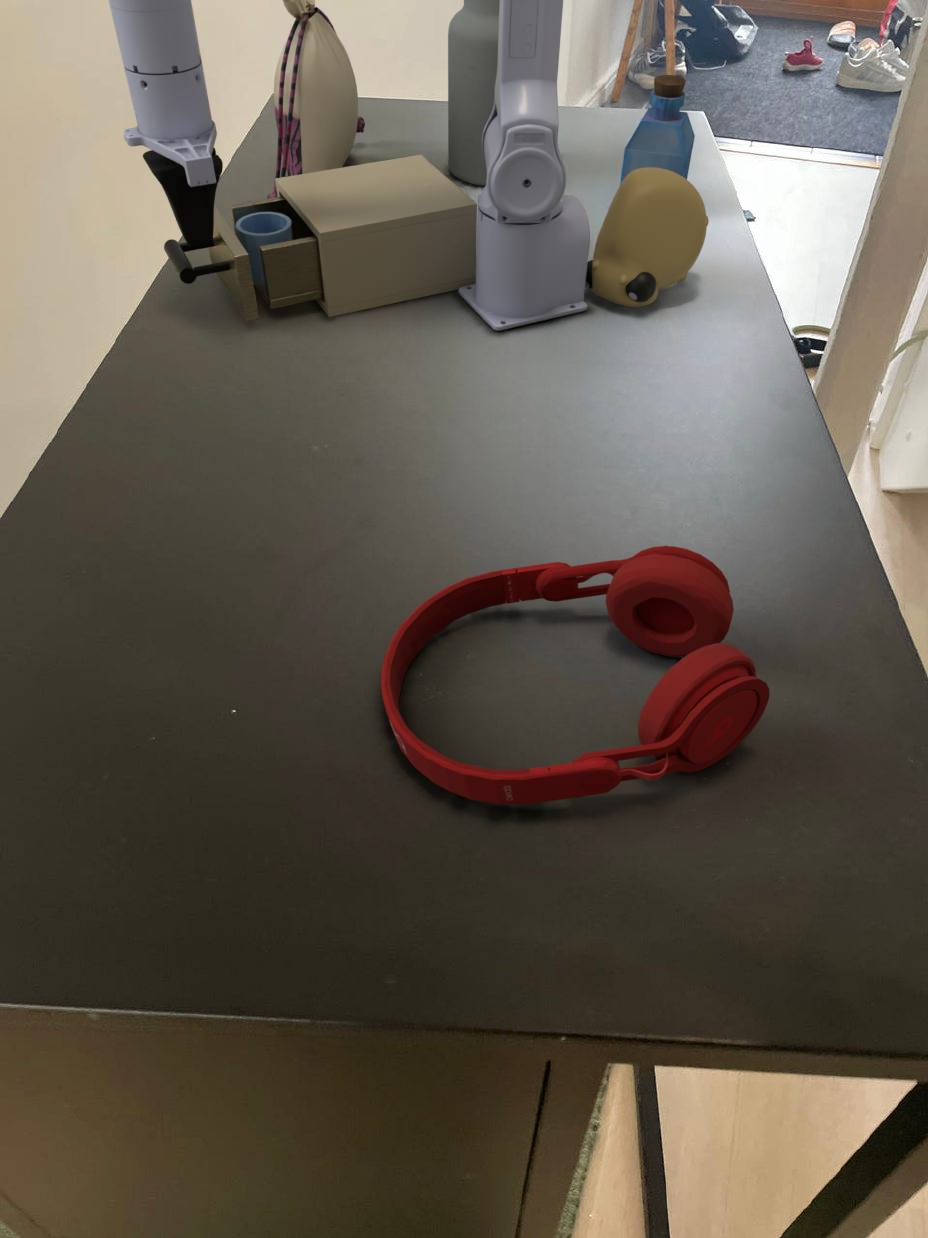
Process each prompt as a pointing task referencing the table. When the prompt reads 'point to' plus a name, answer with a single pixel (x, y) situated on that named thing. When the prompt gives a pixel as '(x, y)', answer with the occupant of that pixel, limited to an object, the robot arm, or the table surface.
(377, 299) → the wooden drawer box
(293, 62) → the pouch
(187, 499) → the table surface
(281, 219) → the cup
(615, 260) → the tan rounded piece
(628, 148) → the blue corked bottle
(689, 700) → the headphones
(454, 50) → the water bottle
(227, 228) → the drawer
